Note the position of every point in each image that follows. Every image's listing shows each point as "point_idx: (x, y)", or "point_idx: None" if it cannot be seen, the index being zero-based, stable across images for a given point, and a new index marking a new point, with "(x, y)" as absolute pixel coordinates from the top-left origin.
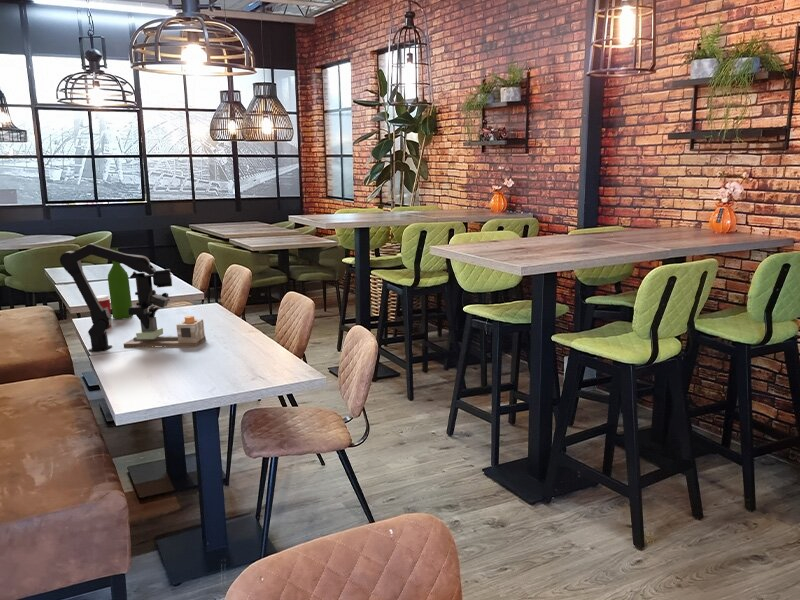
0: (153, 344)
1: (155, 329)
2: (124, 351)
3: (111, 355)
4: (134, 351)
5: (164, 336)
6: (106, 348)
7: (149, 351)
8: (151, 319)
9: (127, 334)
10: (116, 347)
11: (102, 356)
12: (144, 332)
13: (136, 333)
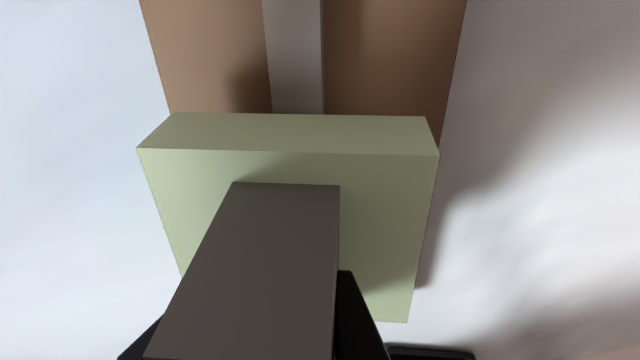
0: (446, 92)
1: (282, 191)
2: (520, 258)
3: (610, 294)
4: (551, 193)
5: (270, 44)
6: (447, 357)
7: (620, 52)
8: None
9: (118, 355)
10: (392, 325)
11: (610, 327)
12: (391, 264)
13: (407, 317)
